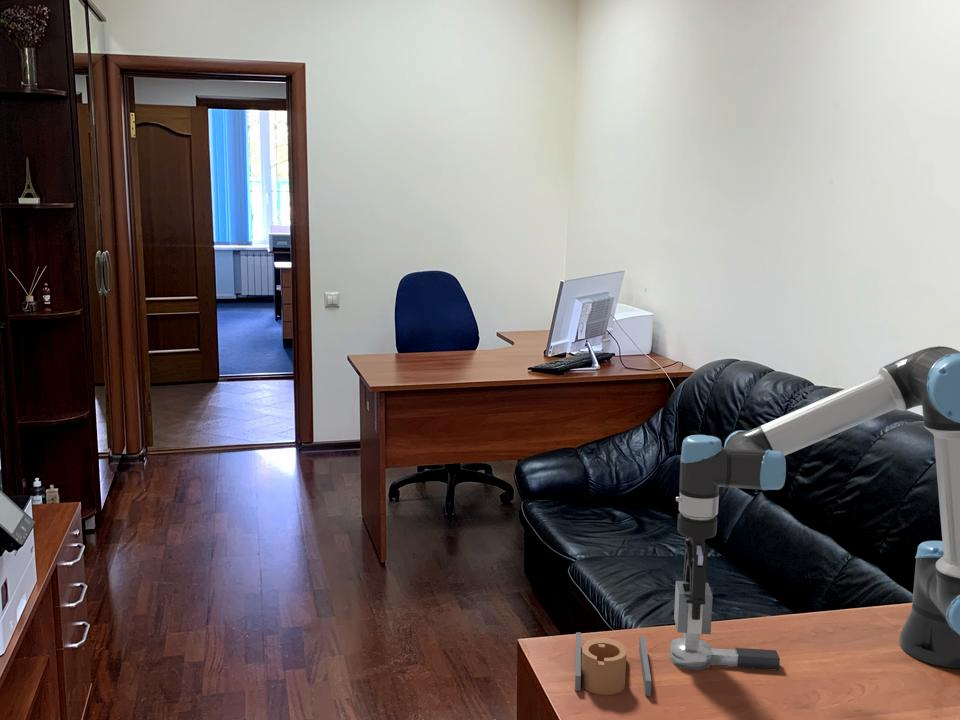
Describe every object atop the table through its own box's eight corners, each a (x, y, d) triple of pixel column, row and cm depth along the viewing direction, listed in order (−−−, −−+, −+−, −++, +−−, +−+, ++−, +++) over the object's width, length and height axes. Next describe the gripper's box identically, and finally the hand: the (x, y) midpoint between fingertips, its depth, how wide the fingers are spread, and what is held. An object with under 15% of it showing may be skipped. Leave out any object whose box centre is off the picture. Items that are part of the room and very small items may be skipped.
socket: (673, 618, 179) (675, 580, 178) (706, 620, 179) (708, 582, 177) (677, 632, 173) (679, 593, 172) (710, 634, 172) (712, 595, 171)
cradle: (643, 650, 181) (644, 636, 180) (650, 695, 163) (651, 680, 163) (575, 645, 182) (576, 632, 182) (575, 690, 165) (575, 675, 164)
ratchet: (772, 656, 179) (774, 624, 178) (781, 676, 171) (783, 642, 170) (668, 649, 181) (669, 617, 180) (672, 668, 173) (673, 635, 172)
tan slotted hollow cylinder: (625, 697, 163) (626, 662, 162) (580, 693, 164) (581, 658, 163) (624, 652, 180) (626, 620, 179) (584, 648, 182) (585, 617, 181)
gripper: (673, 498, 182) (668, 603, 186) (683, 529, 163) (678, 646, 167) (710, 500, 181) (704, 605, 185) (725, 532, 162) (718, 649, 166)
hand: (691, 624), depth 176 cm, fingers closed on socket, 6 cm apart
